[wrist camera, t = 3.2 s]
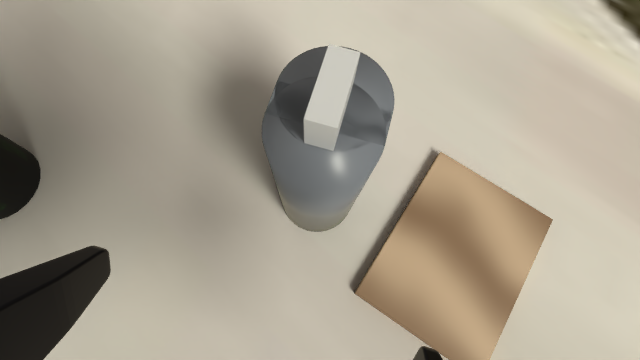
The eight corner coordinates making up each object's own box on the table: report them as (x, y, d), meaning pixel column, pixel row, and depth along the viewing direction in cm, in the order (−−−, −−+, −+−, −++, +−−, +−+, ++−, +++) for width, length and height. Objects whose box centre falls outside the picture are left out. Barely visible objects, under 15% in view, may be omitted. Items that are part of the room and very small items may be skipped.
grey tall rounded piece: (341, 240, 23) (381, 190, 10) (272, 220, 23) (232, 148, 11) (363, 155, 25) (419, 28, 12) (300, 138, 25) (293, -4, 13)
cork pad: (475, 377, 21) (479, 380, 20) (354, 293, 22) (355, 293, 21) (546, 221, 24) (552, 219, 23) (437, 154, 25) (440, 151, 24)
